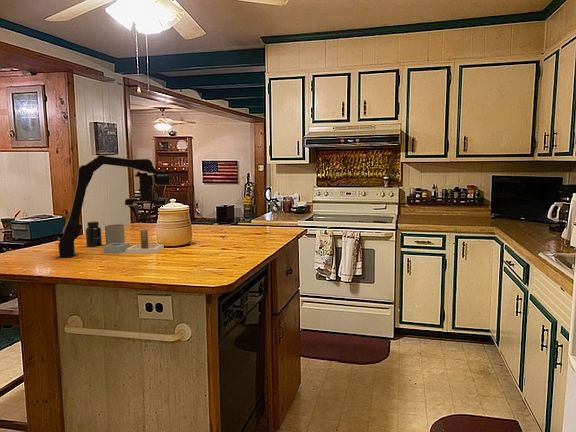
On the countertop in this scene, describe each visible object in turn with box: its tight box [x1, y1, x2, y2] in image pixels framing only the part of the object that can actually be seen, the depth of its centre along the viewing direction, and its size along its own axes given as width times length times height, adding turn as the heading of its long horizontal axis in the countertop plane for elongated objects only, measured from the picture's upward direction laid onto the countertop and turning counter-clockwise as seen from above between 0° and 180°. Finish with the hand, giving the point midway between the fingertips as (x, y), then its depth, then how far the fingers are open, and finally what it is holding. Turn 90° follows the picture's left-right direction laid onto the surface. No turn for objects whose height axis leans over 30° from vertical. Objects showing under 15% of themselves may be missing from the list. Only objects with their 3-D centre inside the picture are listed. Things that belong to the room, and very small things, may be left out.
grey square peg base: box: [102, 242, 130, 254], centre depth 194 cm, size 8×8×4 cm
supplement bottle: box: [85, 220, 103, 248], centre depth 207 cm, size 7×7×12 cm
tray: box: [125, 243, 165, 254], centre depth 194 cm, size 11×13×2 cm
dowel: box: [139, 229, 149, 249], centre depth 194 cm, size 3×3×9 cm
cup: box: [104, 223, 126, 245], centre depth 208 cm, size 8×8×10 cm
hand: (148, 220), depth 202 cm, fingers open, 9 cm apart
